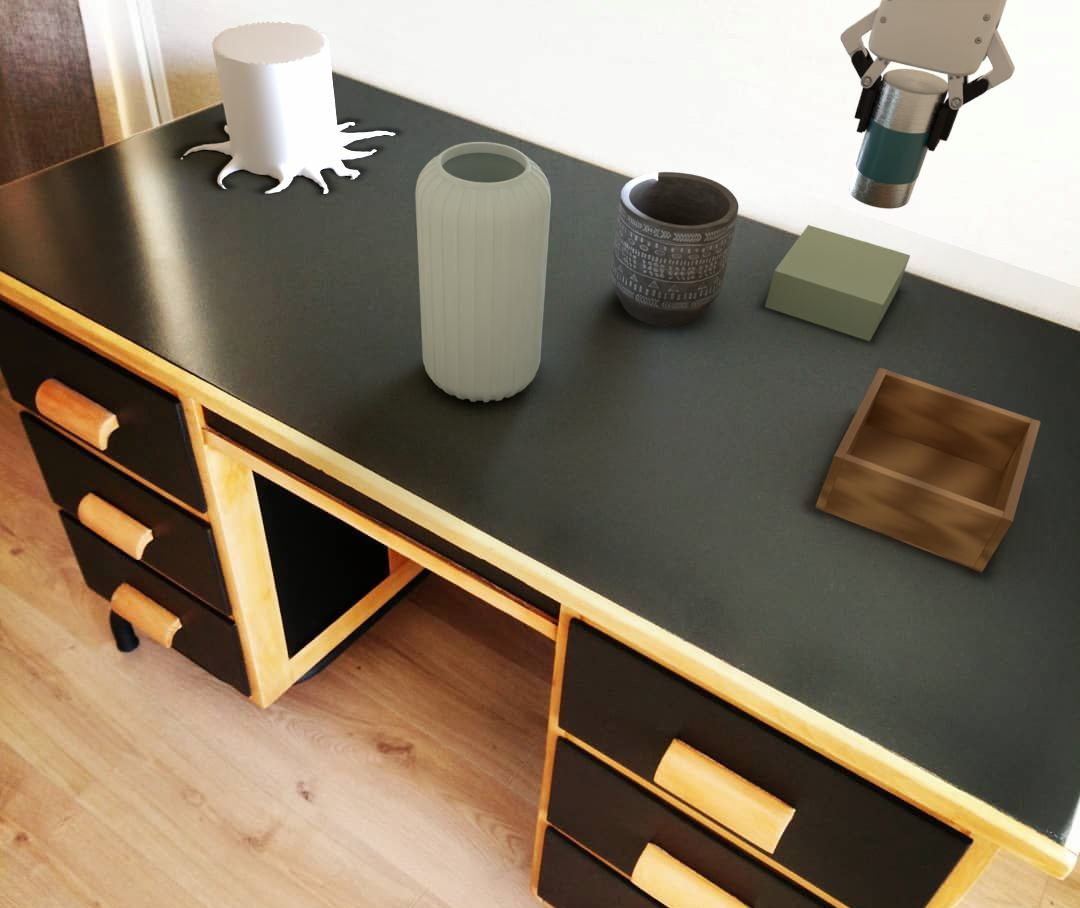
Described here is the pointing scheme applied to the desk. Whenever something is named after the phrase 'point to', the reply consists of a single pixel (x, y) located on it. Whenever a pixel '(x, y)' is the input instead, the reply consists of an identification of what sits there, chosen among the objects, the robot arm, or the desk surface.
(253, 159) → the white tree stump model
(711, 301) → the planter
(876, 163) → the tea tin
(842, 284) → the stand
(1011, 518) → the wooden box
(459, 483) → the desk surface
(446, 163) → the vase
